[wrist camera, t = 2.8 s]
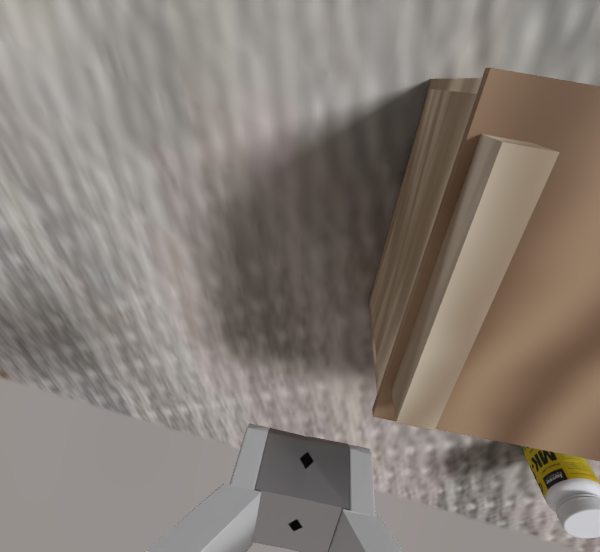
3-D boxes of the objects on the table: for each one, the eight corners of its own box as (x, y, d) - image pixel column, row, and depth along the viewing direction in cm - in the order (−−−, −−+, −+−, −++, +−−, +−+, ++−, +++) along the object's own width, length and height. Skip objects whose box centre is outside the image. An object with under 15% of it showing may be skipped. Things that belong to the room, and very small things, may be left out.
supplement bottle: (533, 418, 38) (578, 500, 31) (579, 430, 38) (635, 514, 31) (511, 450, 41) (548, 534, 33) (554, 461, 41) (601, 547, 33)
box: (368, 303, 34) (378, 402, 24) (430, 78, 26) (487, 77, 16) (571, 341, 34) (673, 460, 23) (699, 125, 26) (948, 157, 15)
